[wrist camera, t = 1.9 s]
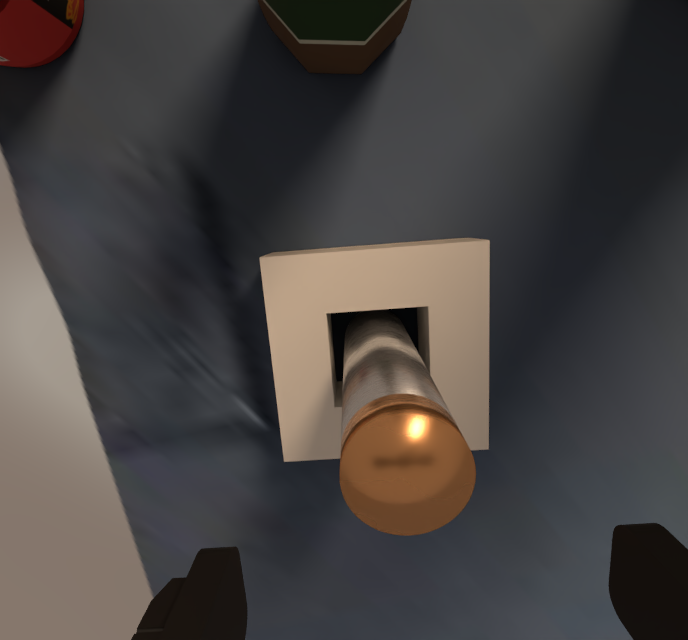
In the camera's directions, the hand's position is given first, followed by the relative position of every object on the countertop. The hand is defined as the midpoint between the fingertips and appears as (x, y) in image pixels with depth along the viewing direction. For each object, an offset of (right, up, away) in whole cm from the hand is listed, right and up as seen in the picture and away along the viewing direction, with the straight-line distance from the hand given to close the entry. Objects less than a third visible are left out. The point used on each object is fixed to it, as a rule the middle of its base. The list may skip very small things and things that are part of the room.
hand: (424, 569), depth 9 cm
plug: (0, +4, +18) cm, 18 cm away
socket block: (0, +4, +18) cm, 18 cm away
